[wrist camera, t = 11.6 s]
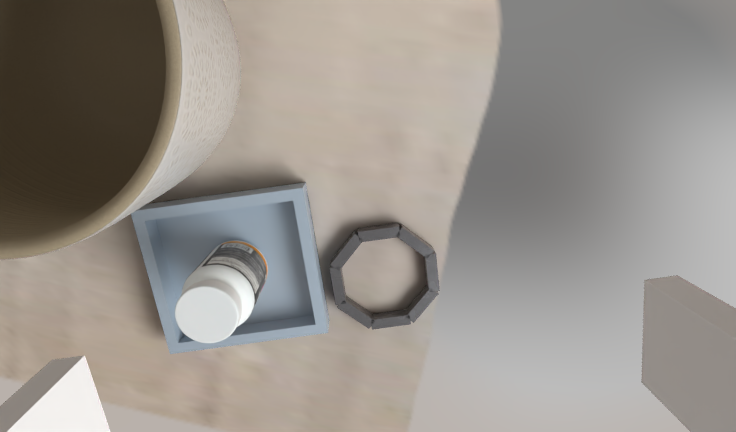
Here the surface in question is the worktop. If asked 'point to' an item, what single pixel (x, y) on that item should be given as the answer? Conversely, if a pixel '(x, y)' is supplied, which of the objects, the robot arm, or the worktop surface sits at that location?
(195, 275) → the pill bottle
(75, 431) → the robot arm
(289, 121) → the worktop surface
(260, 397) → the worktop surface
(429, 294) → the ring
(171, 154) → the planter
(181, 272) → the tray
